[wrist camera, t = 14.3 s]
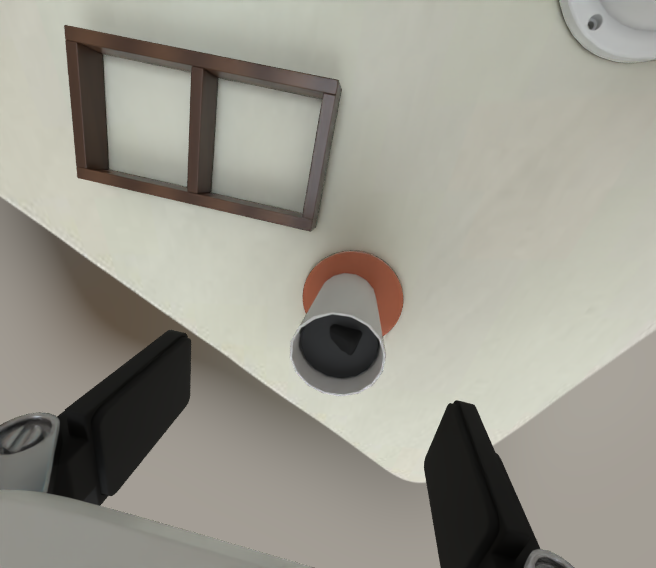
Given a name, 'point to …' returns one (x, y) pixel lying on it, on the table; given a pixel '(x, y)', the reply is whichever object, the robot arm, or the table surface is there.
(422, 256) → the table surface
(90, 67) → the rack
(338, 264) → the coaster
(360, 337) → the white cup
